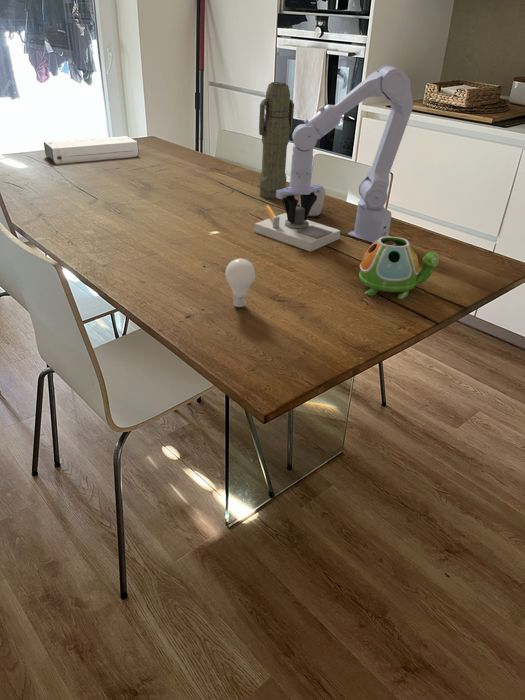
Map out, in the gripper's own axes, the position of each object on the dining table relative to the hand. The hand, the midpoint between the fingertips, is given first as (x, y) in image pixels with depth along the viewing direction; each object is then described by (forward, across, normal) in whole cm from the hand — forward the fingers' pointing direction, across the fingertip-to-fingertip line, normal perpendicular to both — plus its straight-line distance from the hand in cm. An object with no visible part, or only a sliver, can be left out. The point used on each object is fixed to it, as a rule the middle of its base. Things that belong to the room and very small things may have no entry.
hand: (297, 220), depth 160 cm
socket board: (+4, -1, -1) cm, 4 cm away
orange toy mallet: (+1, -5, +6) cm, 8 cm away
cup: (+4, +14, +14) cm, 20 cm away
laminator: (+5, -24, +105) cm, 108 cm away
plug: (+4, 0, 0) cm, 4 cm away
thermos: (+4, +14, +34) cm, 36 cm away
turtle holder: (+4, 0, -40) cm, 40 cm away
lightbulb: (+4, -38, -31) cm, 49 cm away
